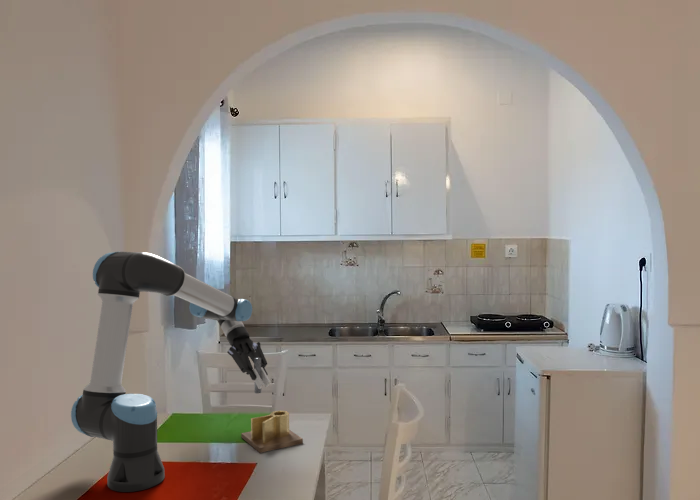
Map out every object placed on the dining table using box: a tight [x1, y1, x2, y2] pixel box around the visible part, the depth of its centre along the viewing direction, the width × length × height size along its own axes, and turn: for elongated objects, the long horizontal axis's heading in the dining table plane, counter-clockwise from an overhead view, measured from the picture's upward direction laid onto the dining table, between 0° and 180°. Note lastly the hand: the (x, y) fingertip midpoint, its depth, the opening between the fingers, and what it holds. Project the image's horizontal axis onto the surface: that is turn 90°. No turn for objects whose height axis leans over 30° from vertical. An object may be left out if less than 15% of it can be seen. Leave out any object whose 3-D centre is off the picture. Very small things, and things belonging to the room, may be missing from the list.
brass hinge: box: [250, 410, 290, 444], centre depth 196 cm, size 13×9×7 cm
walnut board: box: [240, 429, 304, 454], centre depth 198 cm, size 15×16×2 cm
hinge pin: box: [253, 358, 262, 394], centre depth 208 cm, size 2×2×12 cm
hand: (264, 385), depth 205 cm, fingers closed on hinge pin, 2 cm apart
